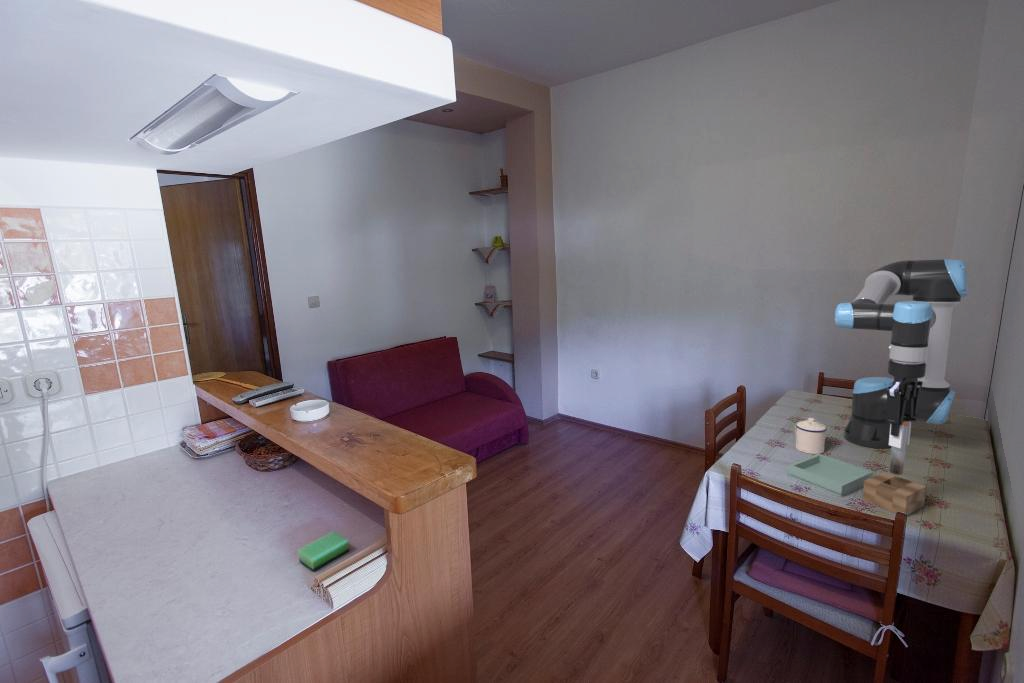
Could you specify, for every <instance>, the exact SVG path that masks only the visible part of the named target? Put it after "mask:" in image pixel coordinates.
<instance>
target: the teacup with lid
mask: <svg viewBox="0 0 1024 683" xmlns="http://www.w3.org/2000/svg"><path fill="white" fill-rule="evenodd" d="M794 426H795V427H794V434H795V449H796V450H798V451H799V452H800V453H801V452H802V453H805V454H807V455H808V454H809V455H815V454H821V455H822V454H823V453H825V448H826V447H825V445H826V435H827V434H826V432H827V426H826V425H825V424H823V423H821V422H818V421H817V420H816V419H815V418H814V417H808V419H806V420H800V421H798V422H797V423H796V424H795V425H794Z"/></svg>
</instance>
